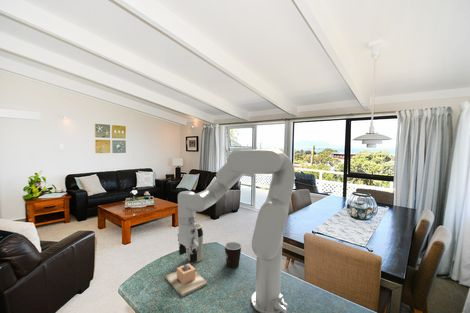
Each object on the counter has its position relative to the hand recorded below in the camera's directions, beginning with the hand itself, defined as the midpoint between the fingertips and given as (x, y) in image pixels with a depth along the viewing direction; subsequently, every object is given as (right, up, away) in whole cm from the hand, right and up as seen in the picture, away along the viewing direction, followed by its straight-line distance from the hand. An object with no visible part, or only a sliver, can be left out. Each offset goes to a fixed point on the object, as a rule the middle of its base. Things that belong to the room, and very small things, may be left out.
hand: (188, 257), depth 94 cm
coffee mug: (+20, -11, +17) cm, 28 cm away
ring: (-1, -10, +1) cm, 10 cm away
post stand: (-1, -11, +1) cm, 11 cm away
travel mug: (-1, -10, +20) cm, 22 cm away
